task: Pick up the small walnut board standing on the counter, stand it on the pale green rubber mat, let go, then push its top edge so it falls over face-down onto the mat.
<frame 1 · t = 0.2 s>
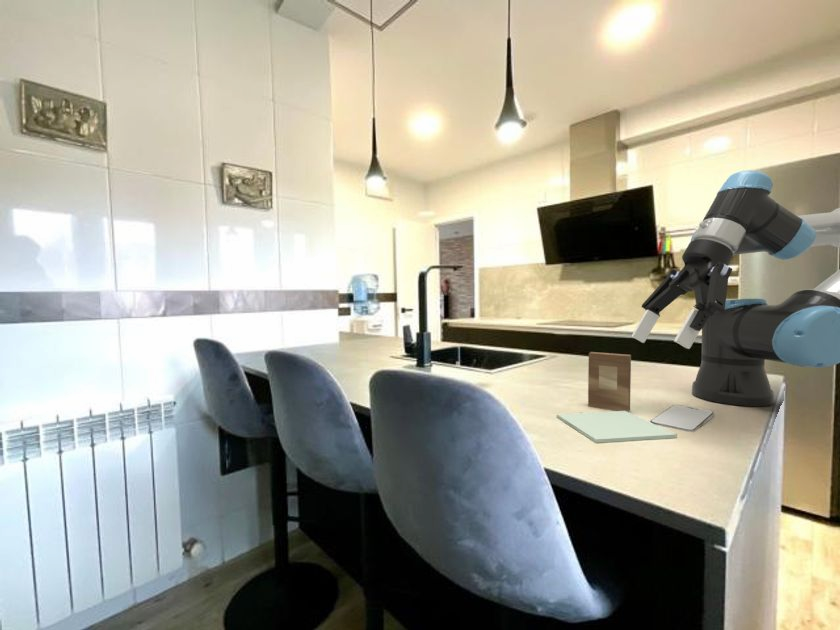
hand: (657, 342, 76), 16 cm above the counter, tool tilted 30°, fingers open, 13 cm apart
smartphone: (682, 422, 78), on the counter
mat: (611, 426, 74), on the counter
board: (608, 408, 85), on the counter
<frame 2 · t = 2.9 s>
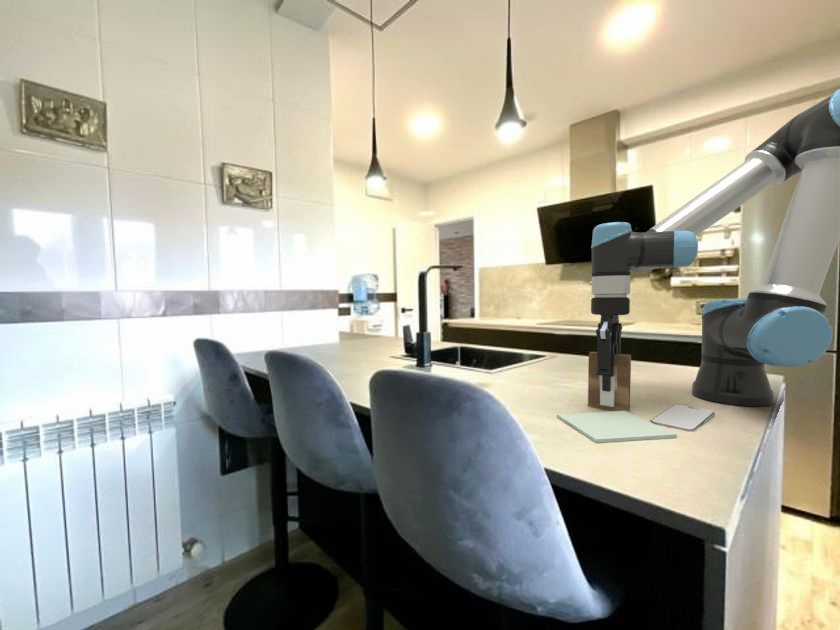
hand: (608, 403, 85), 1 cm above the counter, tool pointing down, fingers closed on board, 2 cm apart
board: (608, 408, 85), on the counter, touching gripper
everything else where it was.
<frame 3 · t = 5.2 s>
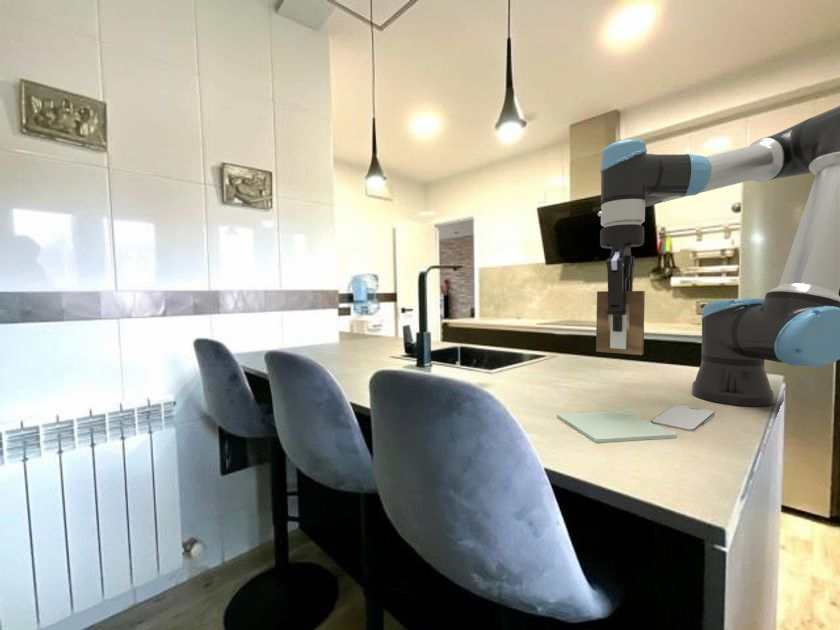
hand: (619, 347, 76), 15 cm above the counter, tool pointing down, fingers closed on board, 2 cm apart
board: (619, 352, 76), point 14 cm above the counter, touching gripper
everything else where it was.
when the fingers open (2 cm above the counter, at t = 7.4 s): board stays where it is, resting on mat.
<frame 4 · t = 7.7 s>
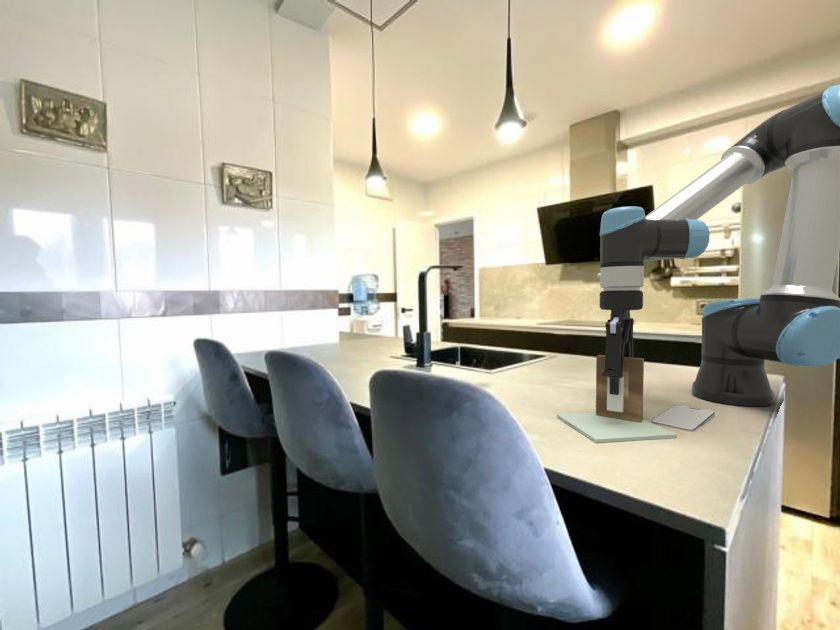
hand: (619, 405, 77), 3 cm above the counter, tool pointing down, fingers open, 7 cm apart
board: (618, 417, 77), point 1 cm above the counter, touching mat
everything else where it was.
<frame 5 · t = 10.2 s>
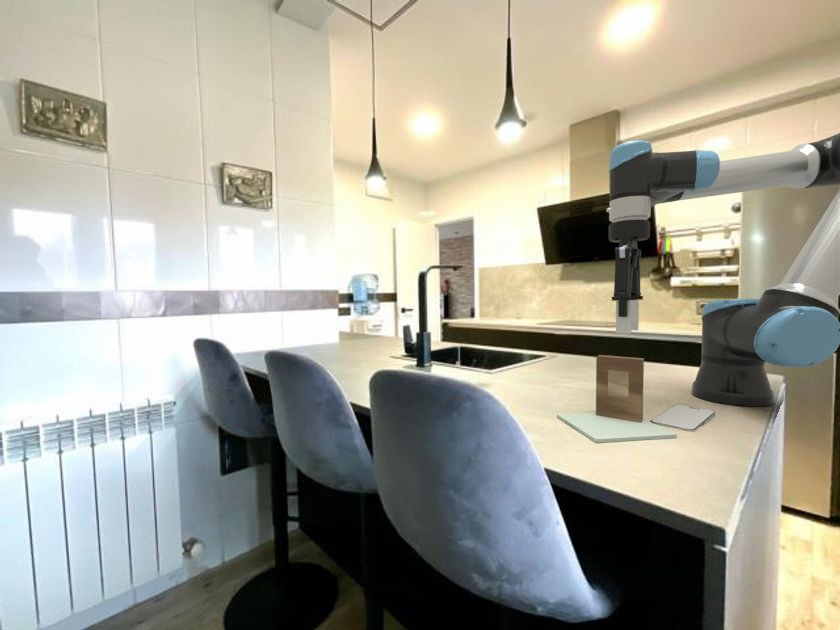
hand: (627, 331, 82), 17 cm above the counter, tool pointing down, fingers open, 8 cm apart
nothing on the counter moved.
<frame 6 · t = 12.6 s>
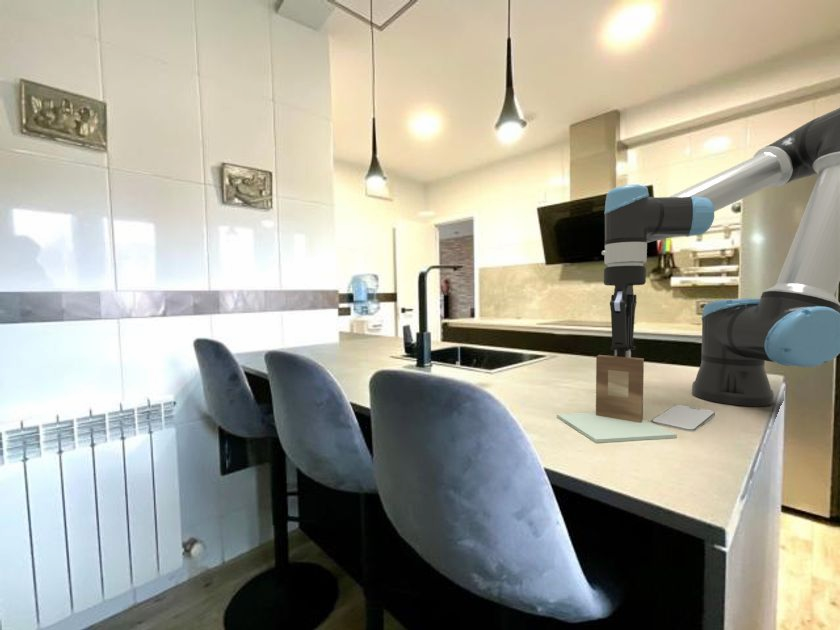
hand: (622, 381, 80), 7 cm above the counter, tool pointing down, fingers closed
board: (618, 417, 77), point 1 cm above the counter, touching gripper, mat
everything else where it was.
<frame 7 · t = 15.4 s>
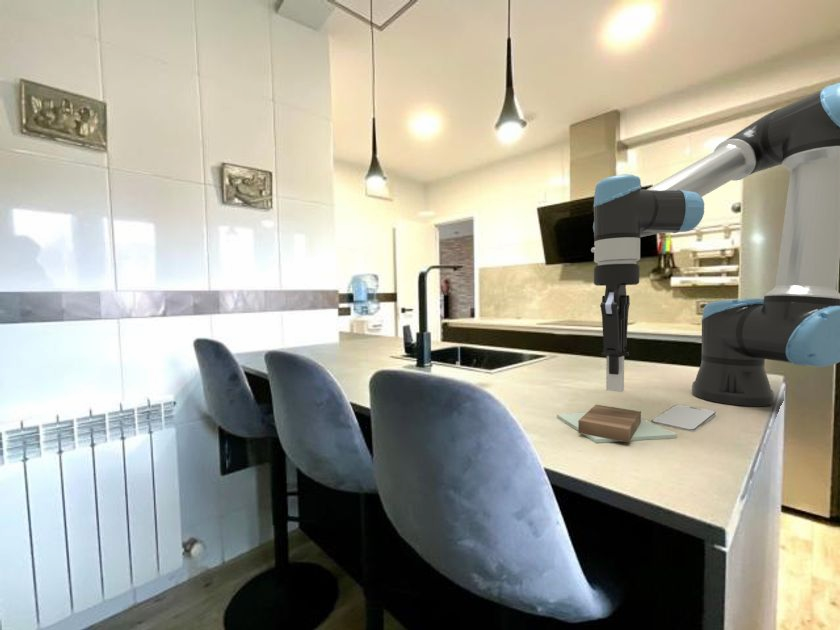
hand: (615, 390, 73), 7 cm above the counter, tool pointing down, fingers closed
board: (617, 413, 76), point 2 cm above the counter, tilted 90°, touching mat
everything else where it was.
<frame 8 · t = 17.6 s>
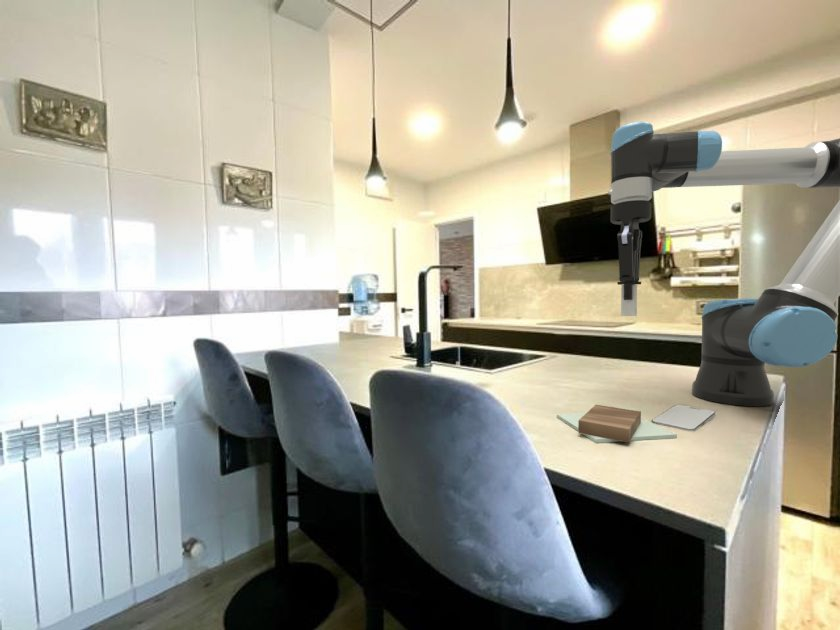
hand: (628, 315, 83), 20 cm above the counter, tool pointing down, fingers closed
nothing on the counter moved.
at the end: board tilted 90°; board inside the target area (4.8 cm from its centre), point 1.7 cm above the counter; the gripper is holding nothing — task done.
